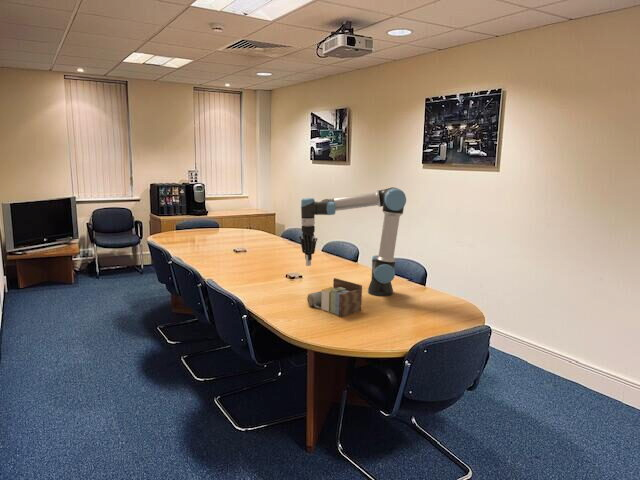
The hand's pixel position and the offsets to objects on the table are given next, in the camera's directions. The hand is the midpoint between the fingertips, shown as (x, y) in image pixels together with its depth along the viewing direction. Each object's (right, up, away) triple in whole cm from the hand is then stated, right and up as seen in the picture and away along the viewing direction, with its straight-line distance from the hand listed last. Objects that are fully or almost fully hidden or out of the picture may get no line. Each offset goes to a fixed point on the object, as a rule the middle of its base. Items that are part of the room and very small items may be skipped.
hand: (308, 265), depth 274 cm
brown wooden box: (+16, -23, -18) cm, 33 cm away
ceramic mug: (+5, -22, -13) cm, 26 cm away
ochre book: (+12, -23, -18) cm, 31 cm away
